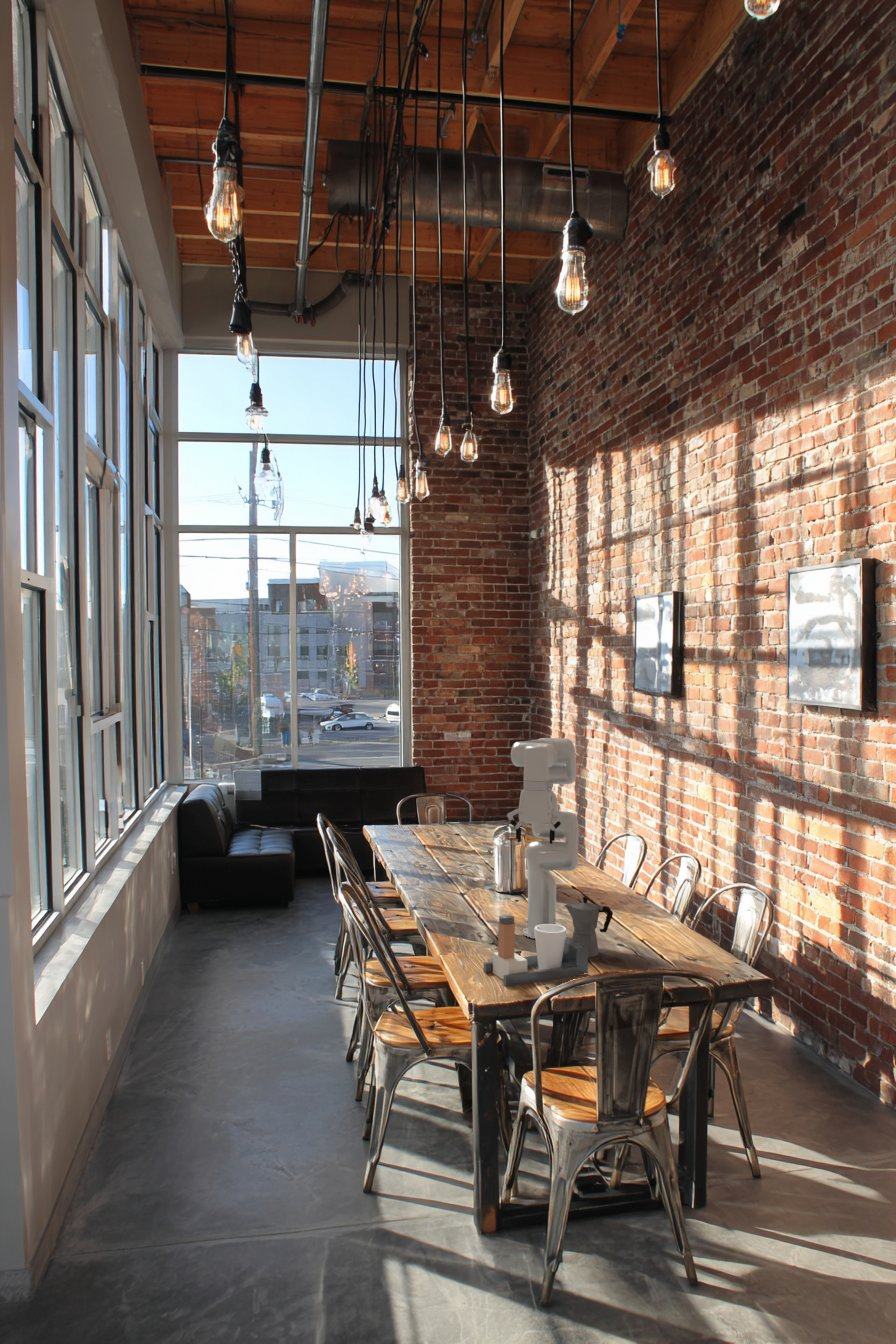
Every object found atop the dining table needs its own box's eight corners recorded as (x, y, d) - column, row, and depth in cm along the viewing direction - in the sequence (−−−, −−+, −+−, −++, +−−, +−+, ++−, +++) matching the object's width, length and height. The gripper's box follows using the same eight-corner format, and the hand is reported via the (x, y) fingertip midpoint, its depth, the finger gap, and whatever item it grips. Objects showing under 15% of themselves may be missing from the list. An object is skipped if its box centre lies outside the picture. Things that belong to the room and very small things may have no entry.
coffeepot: (560, 954, 298) (561, 897, 298) (567, 946, 307) (568, 891, 307) (609, 961, 293) (609, 902, 293) (615, 952, 301) (615, 896, 301)
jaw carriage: (491, 973, 279) (492, 913, 279) (510, 970, 281) (511, 911, 281) (507, 983, 270) (508, 922, 270) (527, 980, 272) (527, 919, 272)
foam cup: (563, 967, 286) (563, 924, 286) (568, 977, 277) (568, 932, 277) (531, 966, 286) (532, 924, 286) (535, 977, 276) (536, 932, 276)
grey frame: (483, 972, 280) (483, 945, 280) (564, 961, 292) (565, 935, 292) (505, 987, 267) (506, 959, 267) (589, 975, 279) (590, 948, 279)
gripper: (565, 785, 290) (564, 841, 290) (509, 783, 293) (508, 838, 293) (563, 788, 283) (563, 845, 283) (506, 786, 286) (505, 843, 286)
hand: (535, 842), depth 288 cm, fingers open, 9 cm apart
